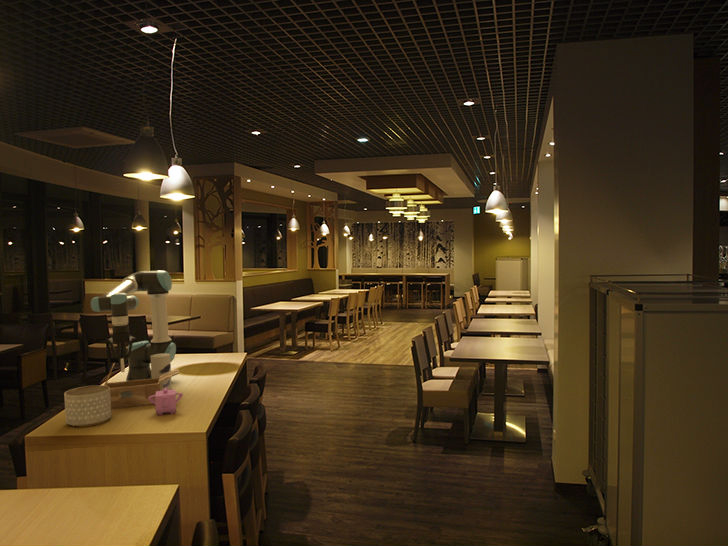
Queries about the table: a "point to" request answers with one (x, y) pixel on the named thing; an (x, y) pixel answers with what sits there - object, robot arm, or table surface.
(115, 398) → the carton
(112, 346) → the robot arm
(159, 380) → the flap
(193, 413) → the table surface
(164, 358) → the container
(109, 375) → the flap
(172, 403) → the teapot
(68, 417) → the planter
